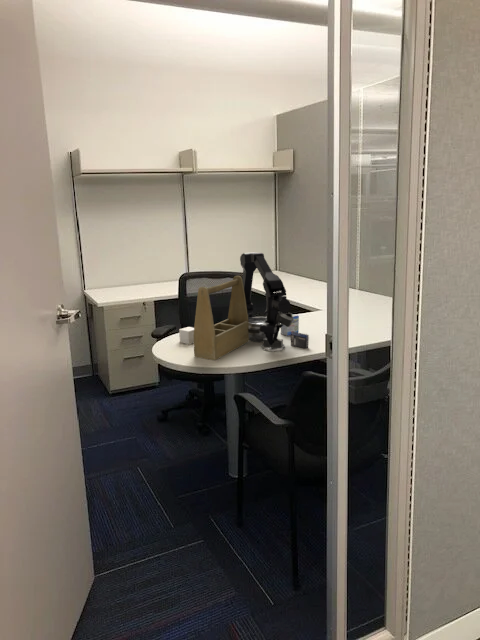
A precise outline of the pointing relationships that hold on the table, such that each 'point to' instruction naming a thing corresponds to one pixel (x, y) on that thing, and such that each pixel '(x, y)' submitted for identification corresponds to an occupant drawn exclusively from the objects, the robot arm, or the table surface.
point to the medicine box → (291, 326)
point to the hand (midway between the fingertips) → (273, 343)
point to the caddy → (225, 333)
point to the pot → (256, 329)
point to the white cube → (187, 335)
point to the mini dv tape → (299, 340)
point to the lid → (273, 345)
